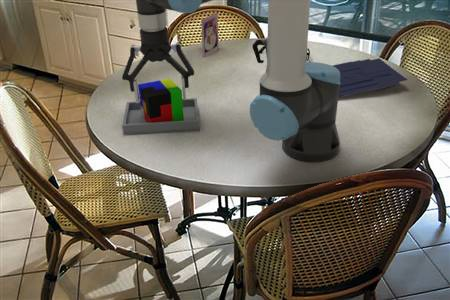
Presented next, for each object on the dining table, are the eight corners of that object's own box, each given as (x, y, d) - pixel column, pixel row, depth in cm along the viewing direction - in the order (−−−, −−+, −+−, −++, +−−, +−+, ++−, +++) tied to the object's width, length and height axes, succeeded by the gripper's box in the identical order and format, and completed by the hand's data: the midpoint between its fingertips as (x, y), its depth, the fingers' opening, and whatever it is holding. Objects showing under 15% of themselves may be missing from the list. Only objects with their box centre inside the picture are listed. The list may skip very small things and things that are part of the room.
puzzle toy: (141, 114, 147) (137, 84, 142) (172, 108, 151) (170, 78, 146) (151, 129, 140) (147, 97, 134) (184, 121, 143) (181, 90, 138)
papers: (410, 89, 158) (411, 79, 156) (322, 109, 155) (322, 98, 153) (376, 63, 179) (377, 54, 177) (298, 80, 176) (298, 70, 174)
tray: (199, 130, 139) (198, 121, 138) (123, 134, 138) (122, 125, 137) (197, 106, 153) (196, 98, 151) (128, 110, 151) (126, 101, 150)
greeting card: (205, 57, 190) (203, 19, 183) (189, 54, 194) (187, 17, 186) (220, 49, 199) (219, 12, 191) (205, 46, 202) (203, 10, 194)
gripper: (198, 21, 135) (203, 91, 146) (108, 26, 133) (119, 97, 144) (200, 28, 128) (204, 102, 139) (104, 34, 127) (116, 107, 138)
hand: (161, 99), depth 142 cm, fingers open, 13 cm apart
